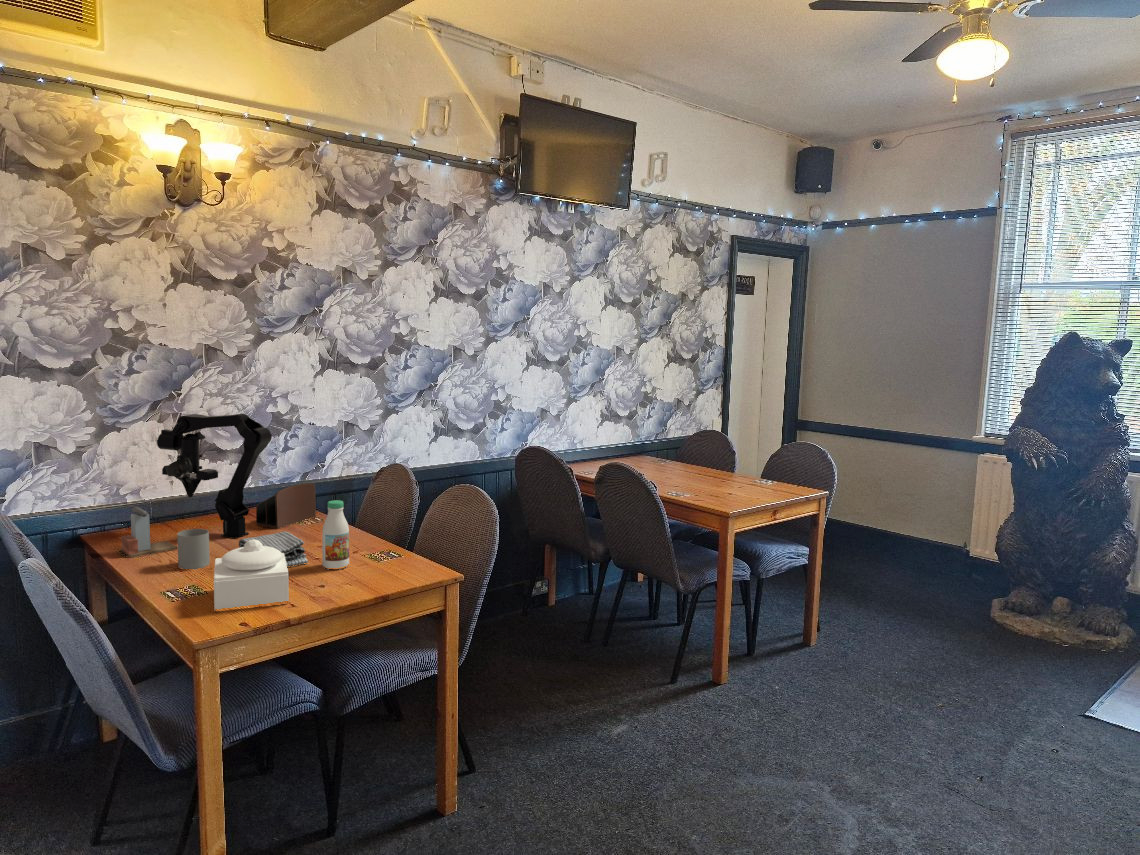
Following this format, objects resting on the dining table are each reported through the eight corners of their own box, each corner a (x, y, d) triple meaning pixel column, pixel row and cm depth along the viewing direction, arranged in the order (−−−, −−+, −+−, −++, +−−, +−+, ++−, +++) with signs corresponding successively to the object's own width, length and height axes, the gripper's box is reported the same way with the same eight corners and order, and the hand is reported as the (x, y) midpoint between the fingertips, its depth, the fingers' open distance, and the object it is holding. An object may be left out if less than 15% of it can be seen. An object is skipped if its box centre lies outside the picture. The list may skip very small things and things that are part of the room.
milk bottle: (317, 568, 230) (316, 502, 227) (333, 561, 237) (332, 497, 235) (338, 572, 228) (338, 505, 225) (354, 564, 235) (354, 500, 232)
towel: (286, 551, 247) (285, 527, 246) (309, 565, 233) (309, 540, 232) (236, 559, 237) (236, 534, 236) (258, 575, 223) (257, 548, 222)
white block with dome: (214, 613, 194) (212, 551, 192) (215, 589, 210) (214, 533, 208) (288, 605, 201) (288, 545, 199) (284, 583, 217) (283, 528, 215)
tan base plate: (166, 543, 250) (166, 528, 249) (177, 549, 244) (176, 534, 243) (120, 551, 240) (119, 535, 239) (130, 557, 234) (129, 541, 233)
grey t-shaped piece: (143, 544, 244) (142, 505, 243) (152, 550, 239) (151, 510, 237) (129, 547, 241) (128, 507, 240) (138, 553, 236) (137, 512, 234)
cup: (174, 564, 229) (172, 532, 228) (202, 559, 235) (201, 527, 234) (185, 571, 223) (184, 538, 222) (214, 565, 229) (213, 533, 228)
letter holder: (316, 517, 289) (316, 480, 287) (277, 529, 271) (276, 490, 269) (295, 514, 293) (295, 477, 291) (255, 526, 274) (254, 487, 273)
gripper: (148, 452, 255) (149, 498, 257) (193, 458, 250) (194, 505, 252) (175, 447, 266) (175, 491, 268) (219, 453, 260) (219, 498, 262)
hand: (190, 497), depth 262 cm, fingers closed
